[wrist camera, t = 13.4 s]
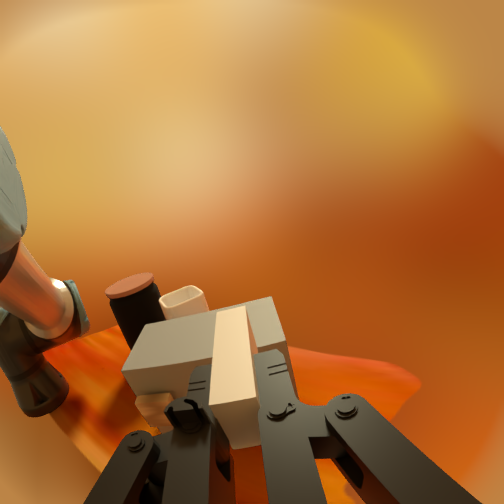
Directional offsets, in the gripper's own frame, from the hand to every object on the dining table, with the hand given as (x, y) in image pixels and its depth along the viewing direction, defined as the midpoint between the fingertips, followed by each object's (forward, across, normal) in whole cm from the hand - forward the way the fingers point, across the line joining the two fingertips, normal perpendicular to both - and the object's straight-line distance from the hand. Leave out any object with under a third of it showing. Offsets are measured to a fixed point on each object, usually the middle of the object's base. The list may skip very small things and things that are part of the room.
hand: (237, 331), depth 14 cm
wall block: (+18, -7, -24) cm, 31 cm away
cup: (+31, -12, -24) cm, 41 cm away
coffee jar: (+36, -23, -24) cm, 49 cm away
